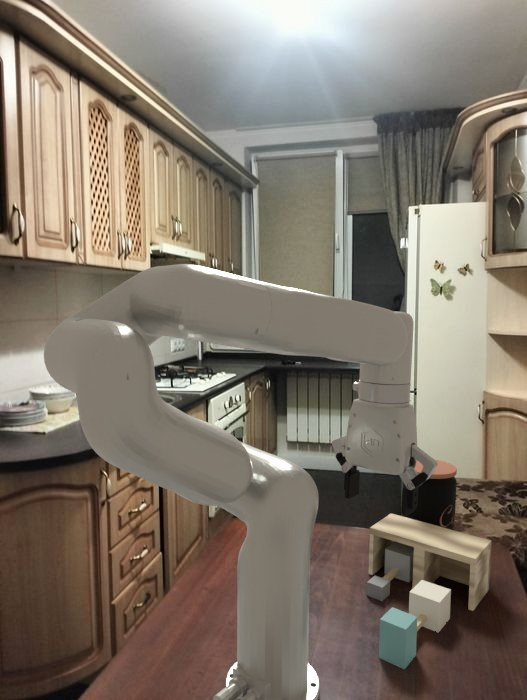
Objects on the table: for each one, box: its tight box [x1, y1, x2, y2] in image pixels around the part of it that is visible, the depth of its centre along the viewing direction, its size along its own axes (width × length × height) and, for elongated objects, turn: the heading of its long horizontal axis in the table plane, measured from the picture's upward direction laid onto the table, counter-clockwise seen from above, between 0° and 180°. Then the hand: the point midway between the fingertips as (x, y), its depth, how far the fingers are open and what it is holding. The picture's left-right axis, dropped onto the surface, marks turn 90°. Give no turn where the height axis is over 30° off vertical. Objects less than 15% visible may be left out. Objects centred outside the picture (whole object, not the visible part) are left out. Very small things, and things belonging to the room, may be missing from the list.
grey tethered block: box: [366, 542, 414, 602], centre depth 101 cm, size 14×5×5 cm, turn 141°
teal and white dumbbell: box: [378, 580, 452, 670], centre depth 85 cm, size 16×5×6 cm, turn 141°
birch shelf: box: [368, 512, 492, 612], centre depth 101 cm, size 9×20×9 cm, turn 51°
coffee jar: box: [401, 459, 458, 531], centre depth 114 cm, size 11×11×18 cm
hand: (378, 504), depth 83 cm, fingers open, 9 cm apart
